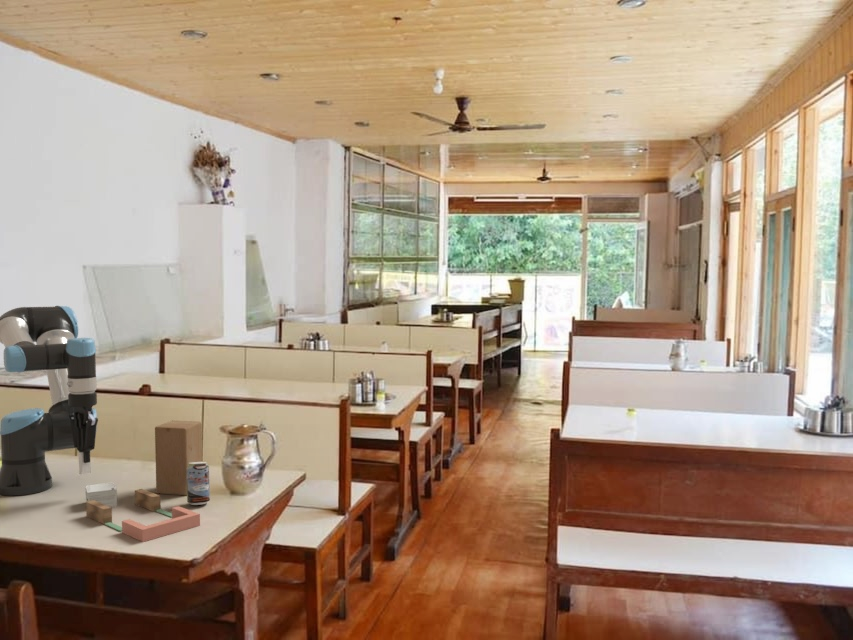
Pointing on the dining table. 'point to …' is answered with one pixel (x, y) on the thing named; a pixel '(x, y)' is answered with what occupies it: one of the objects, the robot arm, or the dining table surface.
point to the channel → (105, 512)
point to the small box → (102, 493)
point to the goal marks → (121, 527)
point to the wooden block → (176, 454)
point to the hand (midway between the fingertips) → (85, 473)
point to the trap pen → (162, 525)
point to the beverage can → (198, 483)
